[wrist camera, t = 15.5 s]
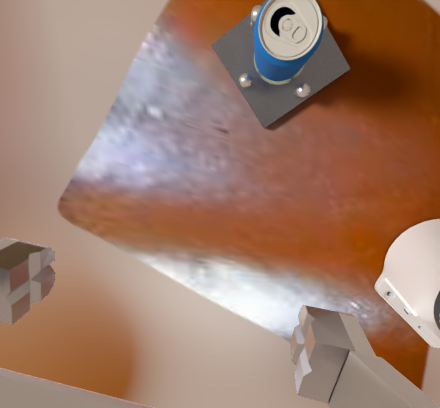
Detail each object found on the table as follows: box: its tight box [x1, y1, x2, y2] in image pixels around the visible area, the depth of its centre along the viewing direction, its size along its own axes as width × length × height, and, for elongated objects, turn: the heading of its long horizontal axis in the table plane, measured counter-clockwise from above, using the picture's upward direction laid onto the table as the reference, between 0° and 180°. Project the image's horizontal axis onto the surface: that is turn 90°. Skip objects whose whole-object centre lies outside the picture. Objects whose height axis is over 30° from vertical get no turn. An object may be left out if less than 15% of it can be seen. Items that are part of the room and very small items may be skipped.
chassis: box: [212, 0, 350, 128], centre depth 36 cm, size 13×13×4 cm
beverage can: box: [254, 0, 324, 81], centre depth 31 cm, size 6×6×12 cm
